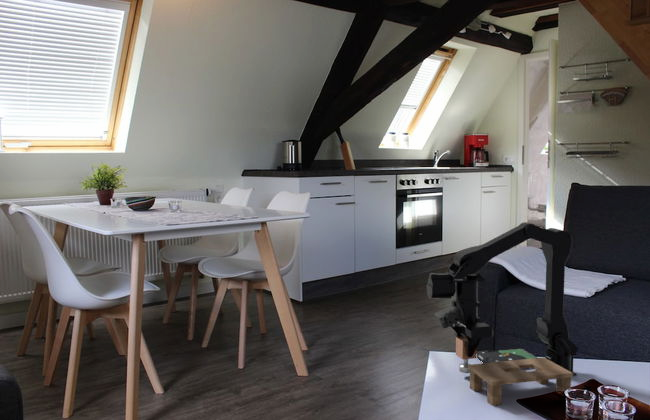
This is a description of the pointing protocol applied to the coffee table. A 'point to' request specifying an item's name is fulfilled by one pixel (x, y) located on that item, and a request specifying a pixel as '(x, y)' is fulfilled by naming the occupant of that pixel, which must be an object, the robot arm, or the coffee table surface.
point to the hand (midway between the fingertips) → (466, 354)
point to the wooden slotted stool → (516, 375)
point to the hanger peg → (463, 354)
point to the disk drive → (503, 355)
